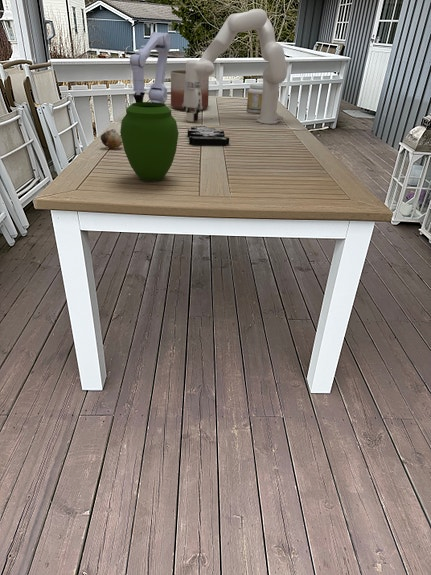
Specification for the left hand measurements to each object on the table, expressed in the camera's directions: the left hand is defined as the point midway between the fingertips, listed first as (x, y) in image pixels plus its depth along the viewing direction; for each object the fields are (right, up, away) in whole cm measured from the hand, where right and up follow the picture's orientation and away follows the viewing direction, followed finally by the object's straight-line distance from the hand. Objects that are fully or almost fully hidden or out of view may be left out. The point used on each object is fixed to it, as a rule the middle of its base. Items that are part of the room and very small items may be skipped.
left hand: (139, 107), depth 226 cm
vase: (+19, -60, -79) cm, 101 cm away
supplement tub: (+69, +20, +53) cm, 90 cm away
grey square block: (+28, -2, +12) cm, 31 cm away
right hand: (+28, -2, +12) cm, 31 cm away
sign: (+37, -25, -21) cm, 50 cm away
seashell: (-4, -38, -46) cm, 60 cm away
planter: (+24, +23, +53) cm, 63 cm away
